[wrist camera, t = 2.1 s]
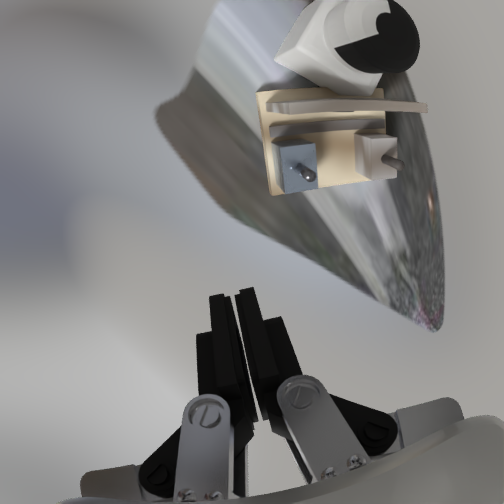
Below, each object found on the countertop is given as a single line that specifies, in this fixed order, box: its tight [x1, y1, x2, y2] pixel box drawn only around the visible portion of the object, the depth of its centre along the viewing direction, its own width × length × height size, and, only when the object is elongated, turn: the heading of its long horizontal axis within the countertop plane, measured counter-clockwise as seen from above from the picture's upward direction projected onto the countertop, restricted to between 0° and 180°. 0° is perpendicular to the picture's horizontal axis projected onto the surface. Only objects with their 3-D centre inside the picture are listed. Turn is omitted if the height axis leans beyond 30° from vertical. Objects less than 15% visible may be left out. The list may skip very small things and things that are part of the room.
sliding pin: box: [271, 138, 318, 194], centre depth 23 cm, size 4×3×6 cm
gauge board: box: [256, 87, 428, 196], centre depth 22 cm, size 10×13×8 cm
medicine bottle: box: [274, 0, 420, 96], centre depth 16 cm, size 7×7×12 cm
